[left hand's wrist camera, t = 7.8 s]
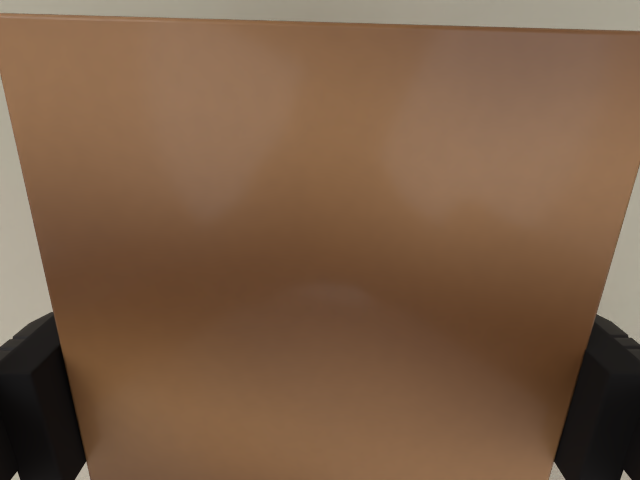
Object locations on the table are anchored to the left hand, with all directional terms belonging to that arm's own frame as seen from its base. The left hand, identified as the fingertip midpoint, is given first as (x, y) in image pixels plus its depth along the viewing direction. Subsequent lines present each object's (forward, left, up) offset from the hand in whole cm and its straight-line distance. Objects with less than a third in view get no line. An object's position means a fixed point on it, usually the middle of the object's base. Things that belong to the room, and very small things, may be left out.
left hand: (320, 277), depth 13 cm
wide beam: (+26, -6, -1) cm, 27 cm away
